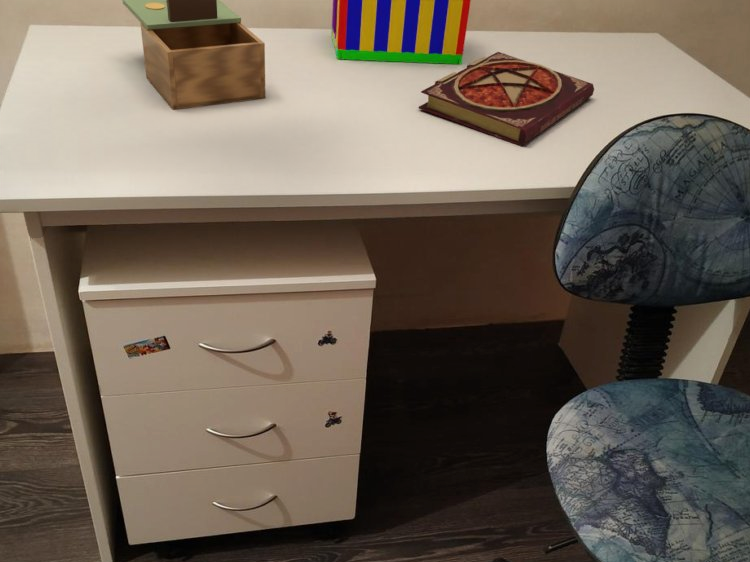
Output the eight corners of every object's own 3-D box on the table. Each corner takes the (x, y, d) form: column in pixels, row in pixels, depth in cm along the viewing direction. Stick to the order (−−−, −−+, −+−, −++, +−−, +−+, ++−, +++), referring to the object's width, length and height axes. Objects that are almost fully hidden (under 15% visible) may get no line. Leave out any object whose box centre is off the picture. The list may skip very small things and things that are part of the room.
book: (523, 150, 130) (530, 120, 127) (414, 109, 137) (418, 80, 134) (590, 101, 149) (598, 75, 145) (491, 67, 156) (496, 41, 153)
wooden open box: (172, 109, 129) (167, 52, 123) (146, 77, 137) (140, 22, 132) (265, 98, 135) (264, 43, 130) (234, 68, 144) (232, 15, 138)
